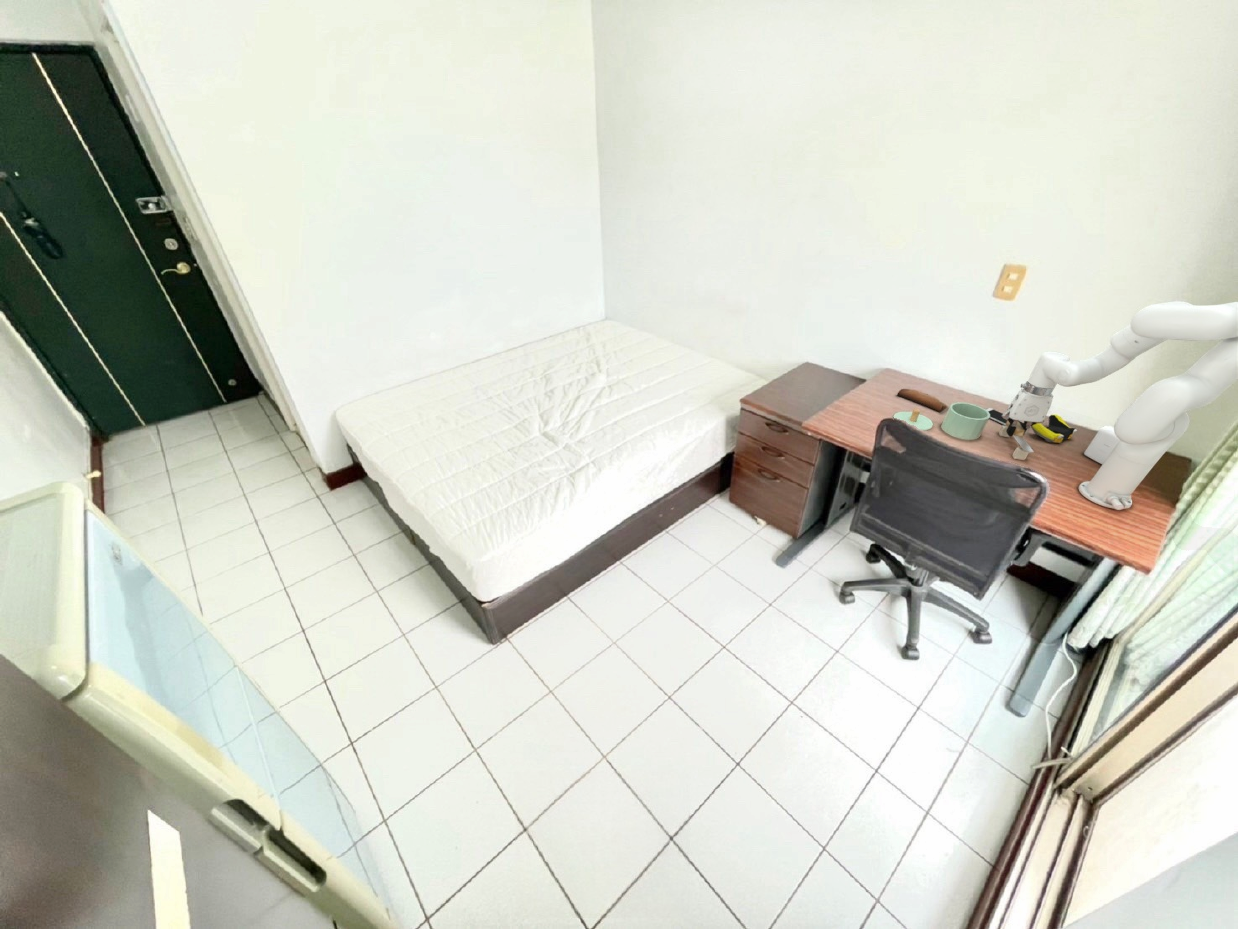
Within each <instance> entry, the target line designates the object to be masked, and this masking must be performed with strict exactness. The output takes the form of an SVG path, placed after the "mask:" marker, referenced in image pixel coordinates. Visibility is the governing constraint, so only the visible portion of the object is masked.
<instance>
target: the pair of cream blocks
mask: <svg viewBox="0 0 1238 929" xmlns="http://www.w3.org/2000/svg"><path fill="white" fill-rule="evenodd" d="M1007 428H1008V427H1007V426H1005V425H1001V427H1000V429H999V432H998V435H999V437H1005V438H1011V437H1010V436H1009V435H1008V434H1007V432H1006V431H1007ZM1029 454H1030V452H1024V451H1023V450H1022V448H1021V447H1019V446H1018V447H1016V448H1015V449H1014V451H1013V453H1012V455H1011V456H1012V457H1013V459H1014V460H1021V461H1025V460H1026V459H1027V457H1028V455H1029Z"/></svg>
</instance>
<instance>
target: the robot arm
mask: <svg viewBox="0 0 1238 929" xmlns="http://www.w3.org/2000/svg"><path fill="white" fill-rule="evenodd" d="M1170 340H1171V341H1184V342H1185V341H1186V342H1187V341H1188V342H1216V341H1219V342H1218V343H1217V344H1216V345H1214V346H1213V347H1212V348H1210V349H1209V350H1207V351H1206V352H1205V353H1204V354H1203V355H1202V356H1201V357H1200V358H1199V359H1198V360H1196V362H1194V364H1192V366H1191V367H1189V368H1188V369H1187V370H1185V371H1184V372H1183V373H1181V374H1178V375H1173V376H1169V377H1166V378H1162V379H1160V380H1158V381H1155V382H1154V383H1153V384H1151V385H1150V386H1148V387H1147V388H1146V389H1145V390H1144V391H1143V392H1141V393H1140V395H1139V396H1138V397H1136V398H1135V400H1134V401H1133V402H1132V403H1130V405H1129V406H1128V407H1127V408H1126V409H1125V410H1124V411H1123V412H1122V413H1121V414H1120V415H1119V416H1118V418H1116V420H1115V423H1114V426H1113V427H1114V432H1115V434H1116V436H1117V437H1118V438H1119V439H1120V441H1119V443H1118V444H1117V445H1116V447H1115V448H1114V449H1113V451H1112V452H1111V453H1110V455H1109V456H1108V457H1107V459H1106V460H1105V462H1104V463H1103V464H1101V466H1100V468H1099V469H1098V470H1097V471H1096V472H1095V474H1094V475H1093V477H1092V478H1091V480H1089V481H1088V480H1087V481H1083V482H1081V483H1080V484H1079V485H1078V491H1079V493H1080V494H1081V495H1082V496H1083V497H1084V498H1086V499H1087V500H1088V501H1090V502H1092V503H1094V504H1096V505H1099V506H1101V507H1104V508H1108V509H1112V510H1113V509H1114V510H1115V511H1121V510H1127V509H1130V508H1131V506H1132V504H1133V500H1132V498H1133V497H1132V494H1133V493H1134V492H1135V490H1136V489H1138V488H1137V487H1138V486H1139V485H1140V484H1141V483H1142V481H1143V480H1144V479H1145V478H1146V477H1147V475H1148V474H1149V473H1150V472H1151V470H1152V469H1153V468H1154V466H1155V465H1156V464H1157V463H1158V461H1159V460H1160V459H1161V458H1162V457H1163V455H1164V454H1166V452H1167V451H1168V450H1169V449H1170V448H1171V447H1172V446H1173V445H1174V444H1175V443H1176V442H1177V441H1178V440H1179V439H1180V438H1181V437H1182V436H1183V435H1184V434H1185V433H1186V431H1187V430H1188V429H1189V426H1190V421H1191V420H1190V416H1189V414H1188V412H1190V411H1194V410H1198V409H1202V408H1204V407H1206V406H1209V405H1210V404H1212V403H1213V402H1214V401H1215V400H1217V398H1219V397H1220V396H1221V395H1222V394H1223V393H1224V392H1225V391H1226V390H1227V389H1229V388H1230V387H1231V386H1232V385H1233V384H1234V383H1235V382H1237V381H1238V301H1232V302H1227V303H1220V304H1211V305H1203V304H1202V305H1196V304H1195V305H1194V304H1192V303H1190V302H1187V301H1183V300H1174V301H1166V302H1160V303H1153V304H1150V305H1147V306H1144V307H1143V308H1141V309H1140V310H1138V311H1137V312H1136V313H1135V314H1134V315H1133V316H1132V318H1131V319H1130V324H1128V325H1127V326H1125V327H1123V328H1121V329H1120V330H1118V331H1116V332H1115V333H1113V334H1112V335H1111V336H1110V339H1109V342H1110V343H1109V344H1110V345H1109V346H1107V347H1106V348H1104V349H1103V350H1102V351H1100V352H1098V353H1097V354H1094V355H1093V356H1091V357H1089V358H1087V359H1081V360H1076V361H1075V360H1074V361H1071V360H1070V356H1068V354H1066V353H1063V352H1059V351H1052V350H1051V351H1049V350H1048V351H1045V352H1043V353H1041V354H1040V356H1039V358H1038V359H1037V362H1036V364H1035V366H1034V367H1033V369H1032V371H1031V373H1030V376H1029V377H1028V379H1027V380H1026V381H1025V383H1021V384H1020V388H1021V389H1020V390H1019V391H1018V392H1017V393H1016V395H1015V396H1014V397H1013V399H1012V400H1011V402H1010V403H1009V405H1008V407H1007V410H1006V411H1005V412H1003V415H1002V417H1003V418H1004V419H1006V420H1008V421H1009V423H1010V425H1009V427H1008V428H1007V431H1006V432H1007V434H1008V435H1009V436H1010V437H1009V438H1011V437H1013V436H1014V435H1013V433H1014V431H1015V429H1016V424H1017V423H1018V421H1021V422H1023V424H1021V426H1022V427H1023V429H1024V430H1025V432H1024V433H1023V435H1022V436H1024V435H1025V434H1026V432H1027V430H1028V429H1030V428H1031V426H1033V425H1035V424H1038V423H1040V424H1042V423H1044V422H1045V419H1046V417H1047V415H1048V413H1049V411H1050V408H1051V407H1052V406H1051V405H1052V403H1053V399H1054V395H1053V392H1054V390H1055V388H1056V386H1057V385H1059V386H1061V387H1066V388H1070V387H1075V386H1080V385H1086V384H1092V383H1095V382H1099V381H1100V380H1102V379H1104V378H1106V377H1108V376H1111V375H1113V374H1114V373H1116V372H1118V371H1119V370H1121V369H1123V368H1124V367H1126V366H1128V365H1129V364H1130V363H1132V362H1133V361H1134V360H1135V359H1136V358H1137V357H1139V356H1141V355H1142V354H1145V353H1146V352H1148V351H1150V350H1151V349H1153V348H1155V347H1157V346H1158V345H1160V344H1163V343H1164V342H1166V341H1170ZM1009 416H1010V417H1009Z"/></svg>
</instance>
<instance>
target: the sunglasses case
mask: <svg viewBox="0 0 1238 929" xmlns="http://www.w3.org/2000/svg"><path fill="white" fill-rule="evenodd" d="M897 396H898V397H900V398H903V399H906V400H909V401H912V402H915V403H917V404H920V405H923V406H925V407H927V408H930V409H933V410H935V411H937V412H939V413H941V412H943V411H945V410H946V409H947V408H949V407H948V405H947V404H945V403H944V402H943V401H940V399H938V398H937V397H935V396H932V395H930V394H928V393H925V392H922V391H919V390H917V389H910V388H901V389H900V390H899V391H898V392H897Z"/></svg>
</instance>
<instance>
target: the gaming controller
mask: <svg viewBox="0 0 1238 929" xmlns="http://www.w3.org/2000/svg"><path fill="white" fill-rule="evenodd" d="M1030 428H1031V430H1032V432H1034V434H1035V435H1037V436H1038V437H1041V438H1042V439H1044V441H1045V442H1047V443H1056V444H1057V443H1058V444H1061V443H1062V442H1065V441H1066V440H1070V439H1071V438H1072V436H1073V435H1074V433H1075V432H1077V431H1078V430H1077V429H1076V427H1075V428H1074V427H1071V426H1069V425H1068V424H1067V422H1066V421H1065V420H1064V419H1063V418H1062V417H1061V416H1060V415H1059V414H1050V415H1049V416H1048V426H1044V425H1043V424H1042V423H1038V424H1035V425H1033V426H1030Z"/></svg>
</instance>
